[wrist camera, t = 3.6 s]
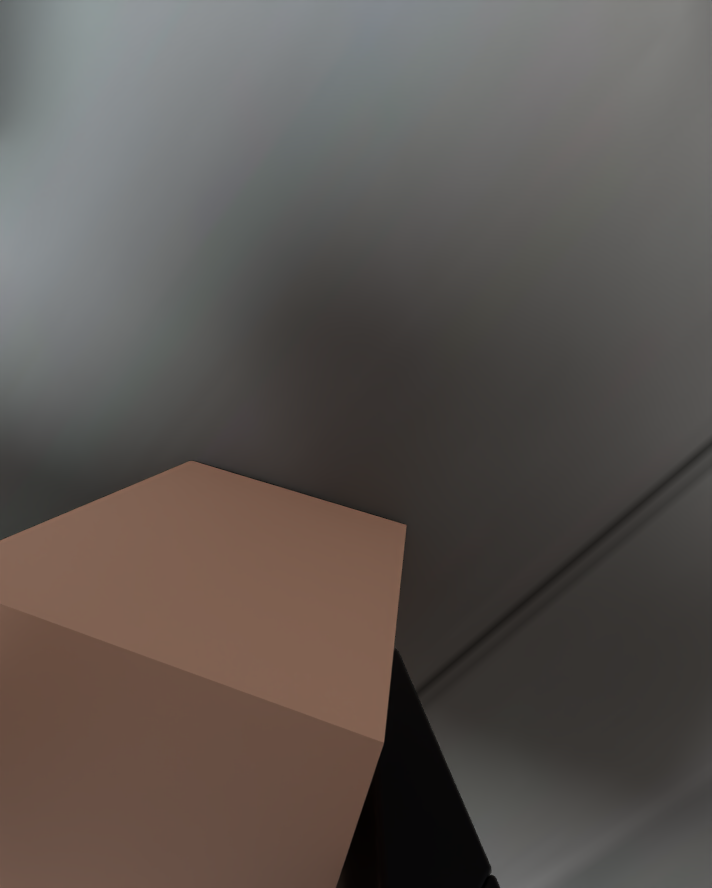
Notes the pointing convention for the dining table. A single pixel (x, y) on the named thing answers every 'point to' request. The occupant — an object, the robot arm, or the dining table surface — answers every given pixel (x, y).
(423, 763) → the robot arm
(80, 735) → the cube
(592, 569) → the dining table surface
